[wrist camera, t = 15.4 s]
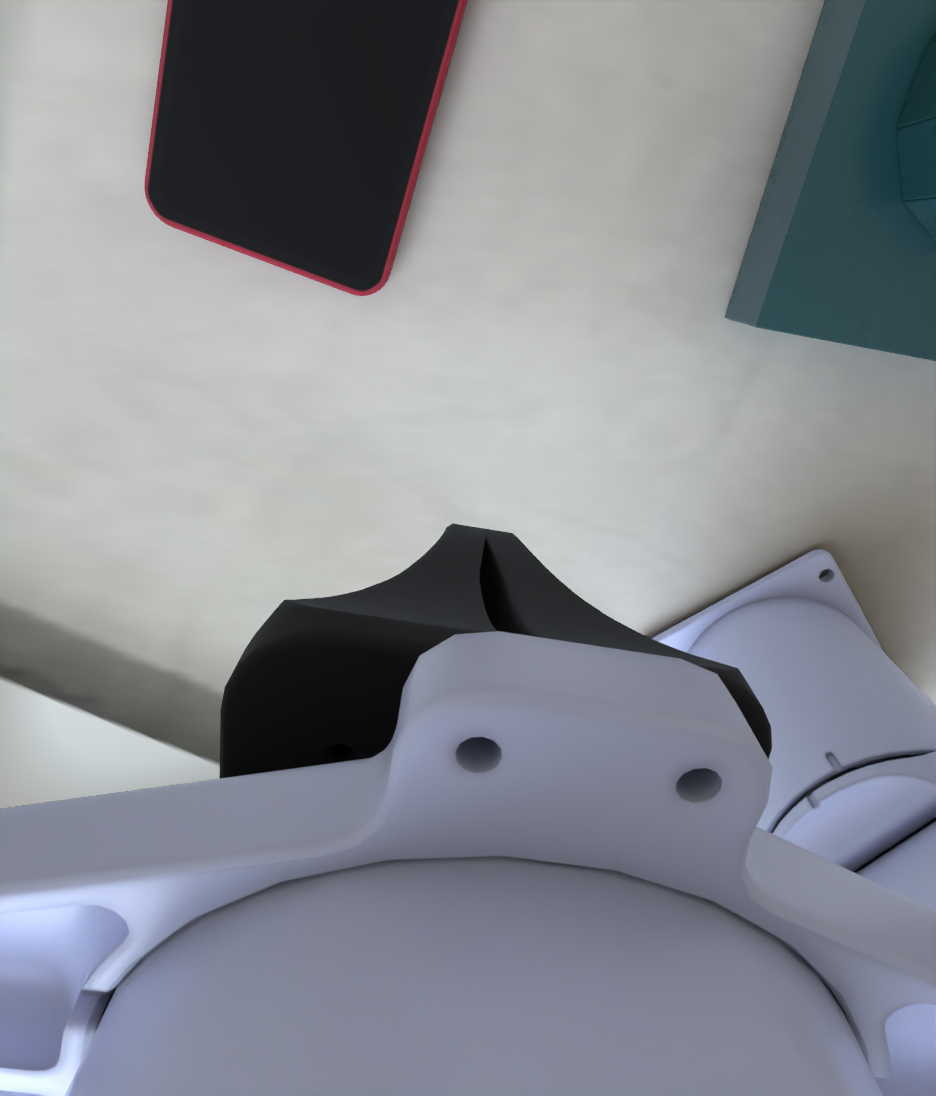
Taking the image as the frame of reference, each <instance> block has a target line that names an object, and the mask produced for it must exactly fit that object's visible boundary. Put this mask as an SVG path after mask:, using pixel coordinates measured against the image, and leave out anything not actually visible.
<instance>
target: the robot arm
mask: <svg viewBox="0 0 936 1096" xmlns="http://www.w3.org/2000/svg"><path fill="white" fill-rule="evenodd" d="M826 569H829V572H828V574H827V575H825V576H824V577H819V575H820V573H821V572H822V571H823V570H826ZM0 1096H936V705H935V704H934V703H933V701H932V700H931V699H930V698H929V697H928V696H927V695H926V694H925V693H924V692H923V691H922V690H921V689H920V688H919V687H918V686H917V685H916V684H915V683H914V682H913V681H912V680H911V679H910V678H909V677H908V676H907V675H906V674H905V673H904V672H903V671H902V670H901V669H900V668H899V667H898V666H897V665H896V664H895V663H894V662H893V661H892V660H891V659H890V658H889V657H888V656H887V655H886V654H885V653H884V651H883V649H882V648H881V646H880V644H879V642H878V640H877V638H876V636H875V634H874V633H873V631H872V629H871V627H870V625H869V623H868V621H867V619H866V617H865V616H864V614H863V612H862V610H861V608H860V606H859V604H858V602H857V601H856V599H855V597H854V595H853V593H852V591H851V589H850V587H849V586H848V584H847V582H846V580H845V578H844V576H843V574H842V572H841V570H840V569H839V567H838V565H837V563H836V561H835V559H834V558H833V556H832V555H831V554H830V553H828V552H827V551H825V550H823V549H816V550H813V551H811V552H809V553H807V554H805V555H803V556H802V557H800V558H798V559H796V560H794V561H792V562H791V563H789V564H787V565H785V566H783V567H781V568H780V569H778V570H776V571H774V572H772V573H770V574H768V575H767V576H765V577H763V578H761V579H759V580H757V581H756V582H754V583H752V584H750V585H748V586H746V587H745V588H743V589H741V590H739V591H737V592H735V593H734V594H732V595H730V596H728V597H726V598H724V599H723V600H721V601H719V602H717V603H715V604H713V605H712V606H710V607H708V608H706V609H704V610H702V611H701V612H699V613H697V614H695V615H693V616H691V617H690V618H688V619H686V620H684V621H682V622H680V623H679V624H677V625H675V626H673V627H671V628H669V629H668V630H666V631H664V632H662V633H660V634H658V635H657V636H655V637H653V638H649V637H647V636H644V635H642V634H640V633H638V632H636V631H634V630H632V629H630V628H628V627H627V626H625V625H623V624H621V623H619V622H617V621H615V620H614V619H612V618H610V617H608V616H607V615H605V614H603V613H602V612H600V611H599V610H597V609H596V608H595V607H593V606H592V605H590V604H589V603H587V602H586V601H584V600H583V599H581V598H580V597H579V596H578V595H576V594H575V593H574V592H572V591H571V590H570V589H569V588H568V587H567V586H565V585H564V584H563V583H562V582H561V581H560V580H558V579H557V578H556V577H555V576H554V575H553V574H552V573H551V572H550V571H549V570H548V569H547V568H546V567H545V566H544V565H543V564H542V563H541V562H540V561H539V560H538V559H537V558H536V557H535V556H534V555H533V554H532V553H531V552H530V551H529V550H528V549H527V547H526V546H525V545H524V544H523V543H522V542H521V541H520V540H519V539H518V538H517V537H516V536H515V535H514V534H512V533H508V532H501V531H495V530H489V529H483V528H476V527H470V526H464V525H458V524H451V525H450V526H448V527H447V528H446V530H445V532H444V533H443V535H442V536H441V538H440V539H439V540H438V541H437V542H436V543H435V545H434V546H433V547H432V548H431V549H430V550H429V551H428V552H427V553H426V554H425V555H423V556H422V557H421V558H420V559H419V560H417V561H416V562H415V563H414V564H412V565H411V566H410V567H409V568H407V569H406V570H404V571H403V572H401V573H400V574H398V575H396V576H395V577H393V578H391V579H389V580H387V581H384V582H381V583H379V584H376V585H373V586H371V587H368V588H365V589H363V590H359V591H356V592H352V593H348V594H343V595H337V596H332V597H325V598H313V599H298V600H284V601H283V602H282V603H281V604H280V605H279V607H278V608H277V609H276V610H275V611H274V612H273V614H272V615H271V616H270V617H269V618H268V619H267V621H266V622H265V623H264V624H263V625H262V627H261V628H260V629H259V630H258V632H257V633H256V634H255V635H254V637H253V638H252V640H251V641H250V643H249V644H248V646H247V647H246V649H245V651H244V653H243V654H242V656H241V658H240V660H239V662H238V664H237V666H236V667H235V669H234V671H233V673H232V675H231V677H230V679H229V681H228V682H227V684H226V686H225V690H224V695H223V700H222V706H221V728H220V779H213V780H206V781H198V782H191V783H184V784H177V785H169V786H162V787H154V788H147V789H140V790H132V791H125V792H118V793H111V794H104V795H96V796H88V797H82V798H74V799H67V800H60V801H52V802H45V803H37V804H30V805H23V806H15V807H8V808H1V809H0Z"/></svg>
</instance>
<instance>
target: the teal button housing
mask: <svg viewBox="0 0 936 1096" xmlns="http://www.w3.org/2000/svg"><path fill="white" fill-rule="evenodd" d="M725 318H726V319H729V320H733V321H736V322H740V323H743V324H747V325H750V326H754V327H757V328H762V329H768V330H773V331H778V332H784V333H789V334H794V335H800V336H805V337H811V338H816V339H821V340H827V341H832V342H837V343H843V344H848V345H853V346H859V347H864V348H869V349H875V350H880V351H885V352H891V353H896V354H901V355H907V356H912V357H917V358H923V359H928V360H933V361H936V0H825V3H824V6H823V9H822V12H821V16H820V19H819V22H818V25H817V28H816V31H815V35H814V38H813V41H812V44H811V47H810V50H809V53H808V57H807V60H806V63H805V66H804V69H803V72H802V76H801V79H800V82H799V85H798V88H797V91H796V94H795V98H794V101H793V104H792V107H791V110H790V113H789V117H788V120H787V123H786V126H785V129H784V132H783V135H782V139H781V142H780V145H779V148H778V151H777V154H776V158H775V161H774V164H773V167H772V170H771V173H770V176H769V180H768V183H767V186H766V189H765V192H764V195H763V199H762V202H761V205H760V208H759V211H758V214H757V218H756V221H755V224H754V227H753V230H752V233H751V236H750V240H749V243H748V246H747V249H746V252H745V255H744V259H743V262H742V265H741V268H740V271H739V274H738V277H737V281H736V284H735V287H734V290H733V293H732V296H731V300H730V303H729V306H728V309H727V312H726V315H725Z"/></svg>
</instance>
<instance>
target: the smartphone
mask: <svg viewBox="0 0 936 1096" xmlns="http://www.w3.org/2000/svg"><path fill="white" fill-rule="evenodd" d="M466 4H467V0H168V4H167V12H166V20H165V28H164V35H163V43H162V51H161V59H160V66H159V74H158V82H157V90H156V98H155V105H154V113H153V121H152V129H151V137H150V144H149V152H148V160H147V168H146V175H145V195H146V198H147V201H148V204H149V206H150V208H151V209H152V211H153V212H154V214H155V215H156V216H157V217H158V218H159V219H160V220H161V221H163V222H164V223H165V224H167V225H169V226H171V227H174V228H177V229H179V230H182V231H185V232H187V233H190V234H193V235H195V236H198V237H201V238H203V239H206V240H209V241H211V242H214V243H217V244H219V245H222V246H225V247H227V248H230V249H233V250H235V251H238V252H241V253H243V254H246V255H249V256H251V257H254V258H257V259H260V260H262V261H265V262H268V263H270V264H273V265H276V266H278V267H281V268H284V269H286V270H289V271H292V272H294V273H297V274H300V275H302V276H305V277H308V278H310V279H313V280H316V281H318V282H321V283H324V284H326V285H329V286H332V287H334V288H337V289H340V290H342V291H345V292H348V293H350V294H354V295H358V296H365V295H370V294H373V293H375V292H377V291H378V290H380V289H381V288H382V287H383V286H384V285H385V283H386V282H387V280H388V278H389V276H390V273H391V269H392V266H393V262H394V259H395V255H396V252H397V248H398V244H399V241H400V237H401V234H402V230H403V227H404V223H405V220H406V216H407V213H408V209H409V206H410V202H411V198H412V195H413V191H414V188H415V184H416V181H417V177H418V174H419V170H420V167H421V163H422V160H423V156H424V152H425V149H426V145H427V142H428V138H429V135H430V131H431V128H432V124H433V121H434V117H435V114H436V110H437V106H438V103H439V99H440V96H441V92H442V89H443V85H444V82H445V78H446V75H447V71H448V67H449V64H450V60H451V57H452V53H453V50H454V46H455V43H456V39H457V36H458V32H459V29H460V25H461V21H462V18H463V14H464V11H465V7H466Z"/></svg>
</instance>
